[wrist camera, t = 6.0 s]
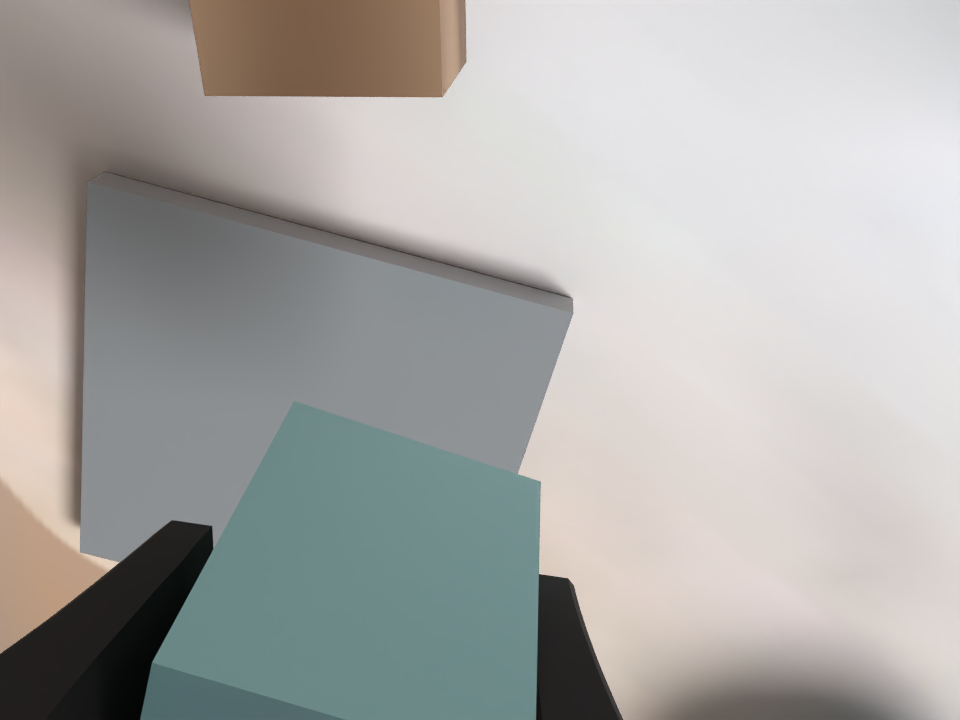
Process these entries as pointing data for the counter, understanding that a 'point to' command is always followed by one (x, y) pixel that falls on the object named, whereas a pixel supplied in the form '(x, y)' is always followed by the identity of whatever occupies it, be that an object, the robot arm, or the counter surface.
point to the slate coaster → (278, 353)
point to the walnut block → (329, 47)
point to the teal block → (361, 588)
